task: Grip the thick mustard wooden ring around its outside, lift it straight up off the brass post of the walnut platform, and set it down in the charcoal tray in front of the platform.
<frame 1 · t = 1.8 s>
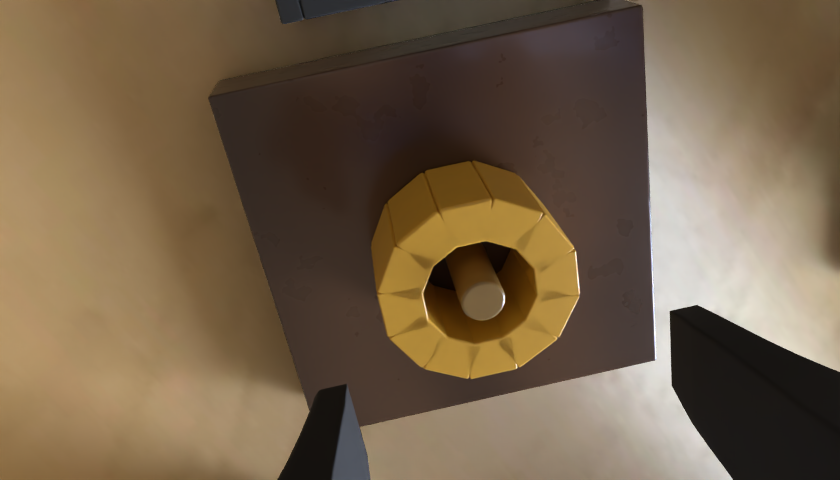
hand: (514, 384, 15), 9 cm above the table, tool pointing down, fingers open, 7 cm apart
mustard ring: (461, 246, 21), point 2 cm above the table, touching platform
platform: (451, 220, 23), on the table
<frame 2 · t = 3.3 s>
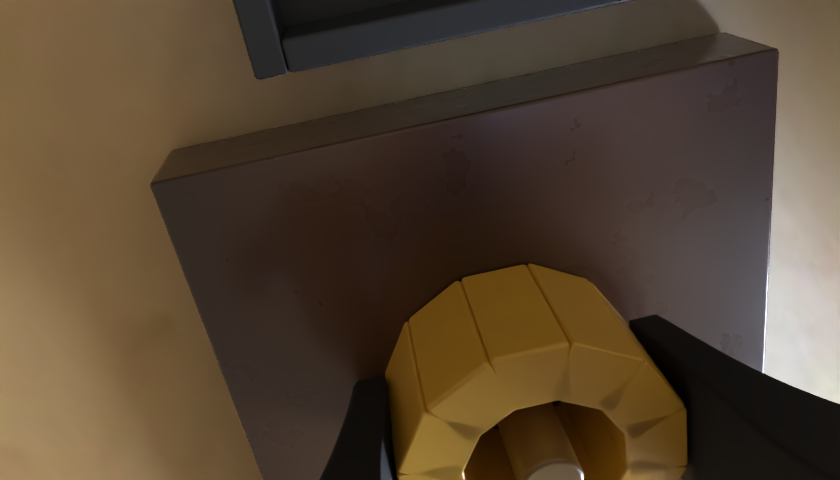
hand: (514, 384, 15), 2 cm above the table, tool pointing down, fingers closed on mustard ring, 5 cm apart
mustard ring: (508, 373, 16), point 2 cm above the table, touching gripper, platform
platform: (490, 325, 17), on the table
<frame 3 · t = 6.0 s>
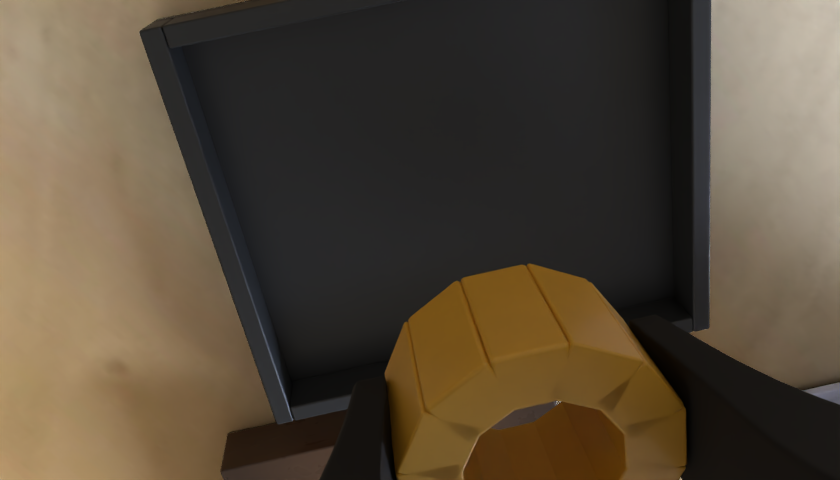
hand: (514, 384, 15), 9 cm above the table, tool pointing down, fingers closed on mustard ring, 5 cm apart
mustard ring: (508, 373, 16), point 9 cm above the table, touching gripper
tray: (455, 179, 23), on the table
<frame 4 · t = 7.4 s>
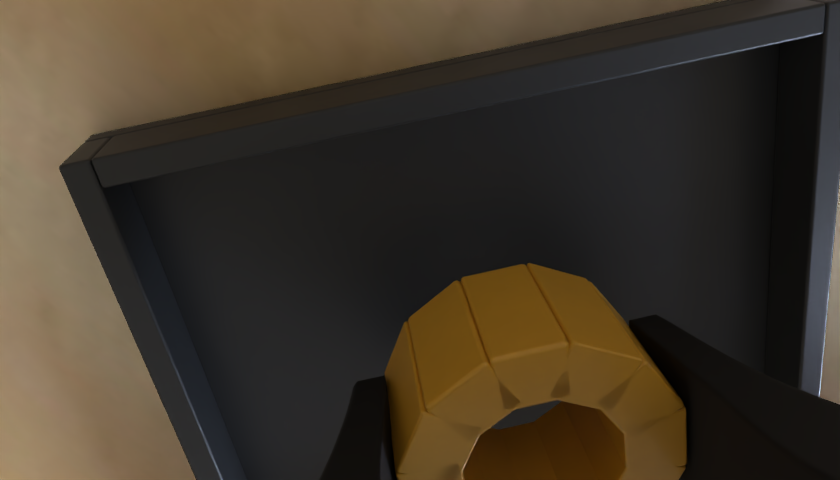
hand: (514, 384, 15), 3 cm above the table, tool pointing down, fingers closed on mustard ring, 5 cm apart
mustard ring: (508, 372, 16), point 2 cm above the table, touching gripper
tray: (489, 319, 18), on the table
when the fingers open (1 cm above the table, at t = 8.6 s): mustard ring stays where it is, resting on tray.
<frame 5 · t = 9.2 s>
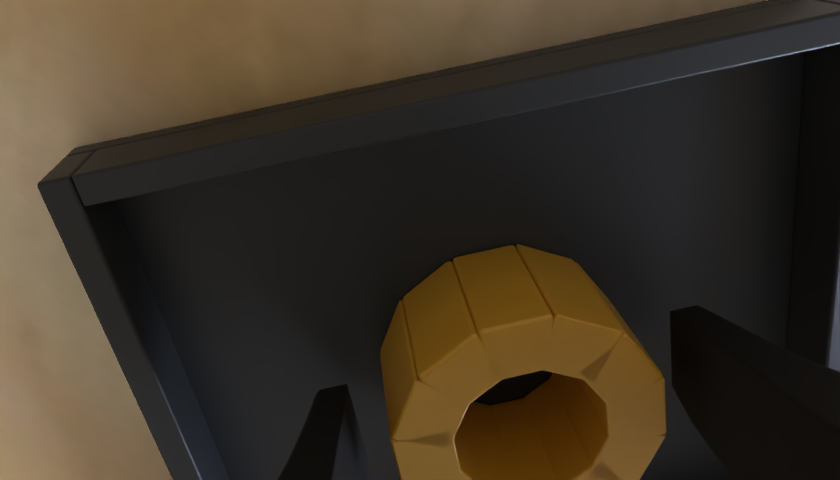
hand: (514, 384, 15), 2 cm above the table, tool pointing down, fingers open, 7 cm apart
mustard ring: (498, 350, 16), resting on tray
tray: (496, 338, 17), on the table
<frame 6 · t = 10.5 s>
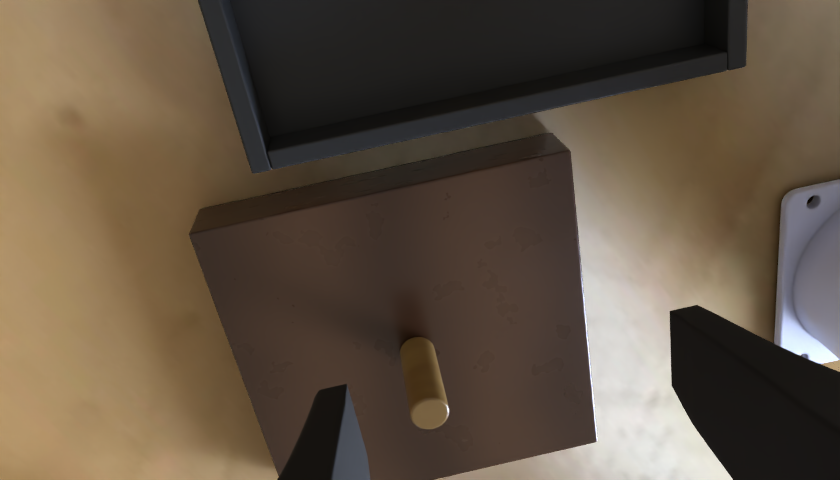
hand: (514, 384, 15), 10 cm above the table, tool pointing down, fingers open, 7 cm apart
platform: (410, 319, 26), on the table
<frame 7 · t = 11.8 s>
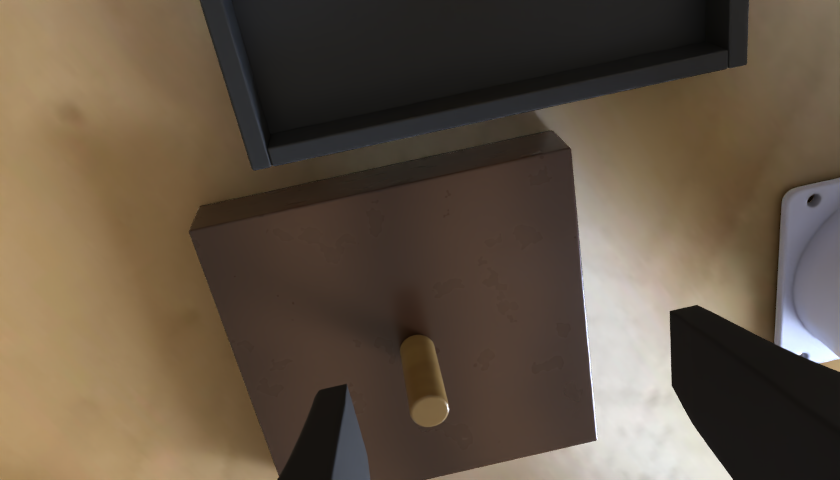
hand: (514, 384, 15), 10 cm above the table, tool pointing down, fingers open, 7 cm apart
platform: (410, 317, 26), on the table
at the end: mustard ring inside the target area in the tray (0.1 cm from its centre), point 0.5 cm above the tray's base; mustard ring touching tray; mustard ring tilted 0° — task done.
